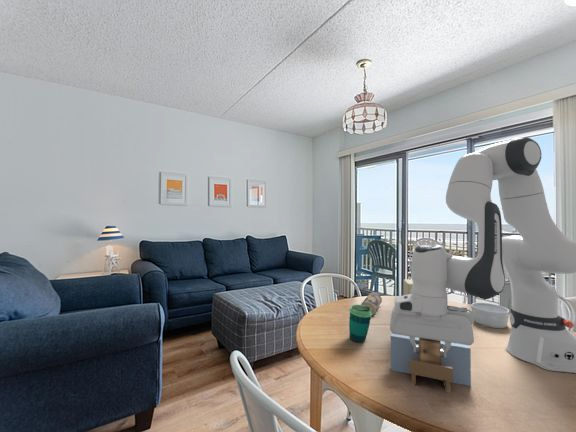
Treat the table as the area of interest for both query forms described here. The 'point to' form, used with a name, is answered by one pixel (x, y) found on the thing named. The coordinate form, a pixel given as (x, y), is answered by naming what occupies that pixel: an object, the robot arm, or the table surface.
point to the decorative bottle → (372, 302)
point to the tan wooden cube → (430, 351)
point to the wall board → (450, 369)
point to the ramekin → (490, 315)
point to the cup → (359, 322)
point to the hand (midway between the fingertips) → (429, 354)
